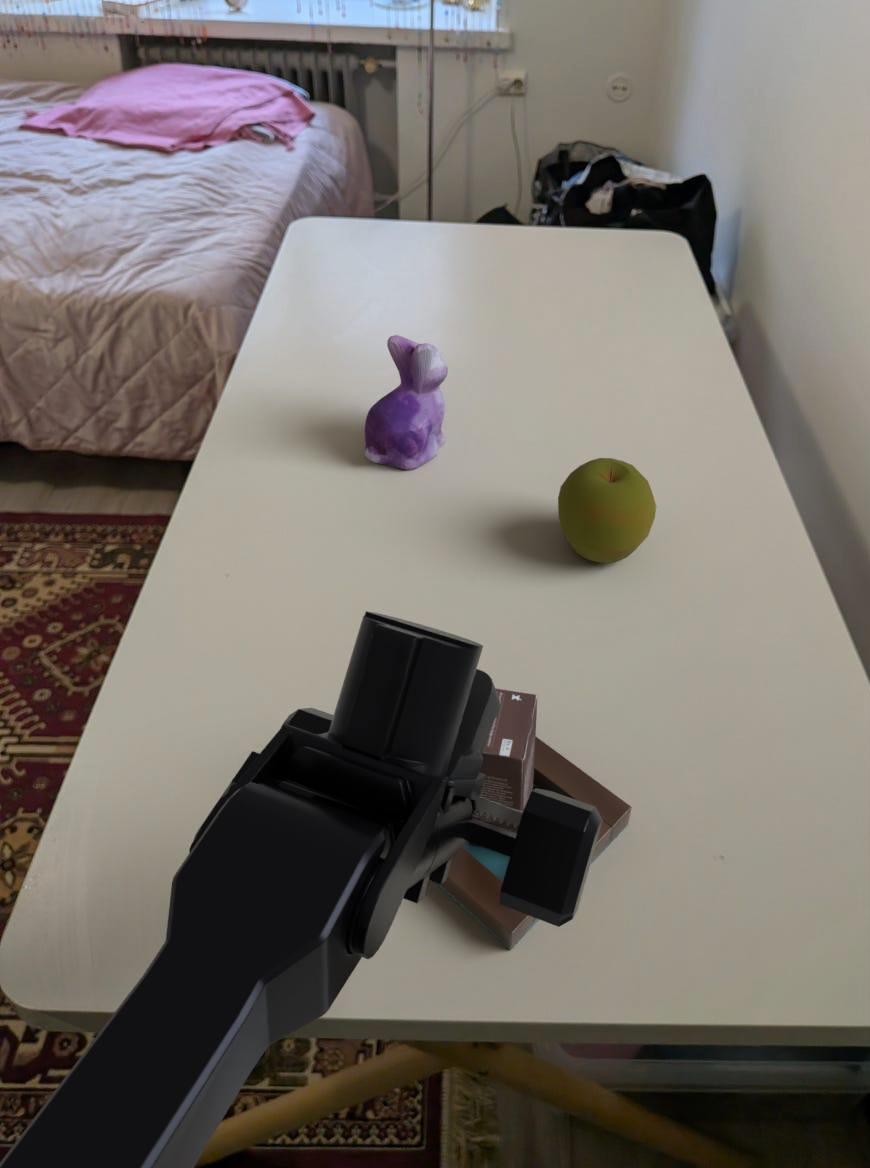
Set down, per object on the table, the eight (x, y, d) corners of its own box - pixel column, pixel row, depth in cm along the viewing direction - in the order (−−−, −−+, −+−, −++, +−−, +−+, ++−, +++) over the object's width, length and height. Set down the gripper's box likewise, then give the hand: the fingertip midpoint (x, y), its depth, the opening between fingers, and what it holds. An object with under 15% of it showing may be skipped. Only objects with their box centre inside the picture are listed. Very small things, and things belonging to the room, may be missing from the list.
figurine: (448, 423, 118) (448, 313, 108) (445, 473, 110) (445, 358, 100) (371, 421, 118) (365, 310, 108) (363, 471, 110) (355, 356, 100)
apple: (536, 533, 102) (543, 448, 95) (612, 508, 106) (624, 425, 99) (587, 591, 96) (599, 505, 89) (666, 562, 99) (683, 477, 92)
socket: (510, 951, 67) (511, 934, 66) (366, 821, 75) (365, 803, 73) (628, 824, 75) (632, 806, 74) (487, 719, 83) (488, 701, 81)
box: (478, 781, 77) (482, 683, 70) (533, 792, 77) (543, 693, 69) (462, 847, 73) (464, 749, 65) (520, 858, 72) (529, 761, 65)
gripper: (614, 731, 44) (641, 713, 59) (264, 618, 49) (371, 628, 64) (547, 969, 44) (592, 890, 59) (199, 829, 49) (322, 789, 64)
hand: (465, 790), depth 61 cm, fingers open, 9 cm apart
